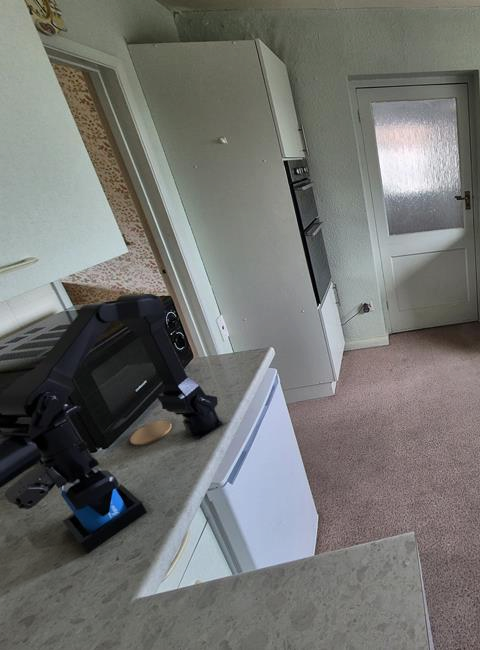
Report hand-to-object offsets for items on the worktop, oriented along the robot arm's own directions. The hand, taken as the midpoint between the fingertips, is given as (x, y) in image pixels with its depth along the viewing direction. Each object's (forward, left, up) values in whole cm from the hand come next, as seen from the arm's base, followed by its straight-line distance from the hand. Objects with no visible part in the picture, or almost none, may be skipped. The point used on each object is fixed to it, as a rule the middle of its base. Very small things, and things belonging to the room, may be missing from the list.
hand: (98, 506), depth 75 cm
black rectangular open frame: (0, 0, -5) cm, 5 cm away
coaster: (-17, -23, -5) cm, 29 cm away
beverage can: (0, 0, -5) cm, 5 cm away
